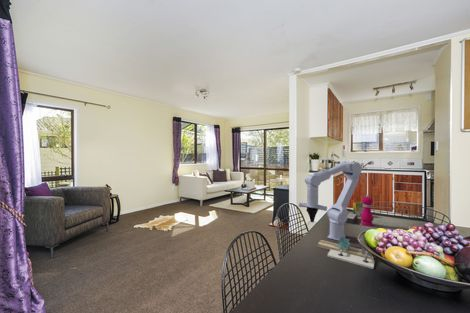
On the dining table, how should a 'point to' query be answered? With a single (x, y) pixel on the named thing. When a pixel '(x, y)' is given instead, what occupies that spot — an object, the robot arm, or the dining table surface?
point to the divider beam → (351, 250)
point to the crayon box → (358, 208)
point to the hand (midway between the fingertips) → (312, 221)
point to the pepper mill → (367, 211)
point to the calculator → (351, 218)
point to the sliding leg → (344, 244)
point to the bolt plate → (351, 258)
